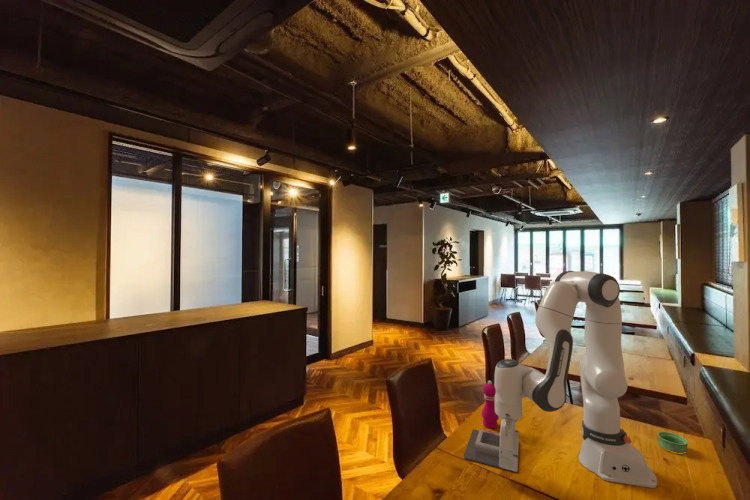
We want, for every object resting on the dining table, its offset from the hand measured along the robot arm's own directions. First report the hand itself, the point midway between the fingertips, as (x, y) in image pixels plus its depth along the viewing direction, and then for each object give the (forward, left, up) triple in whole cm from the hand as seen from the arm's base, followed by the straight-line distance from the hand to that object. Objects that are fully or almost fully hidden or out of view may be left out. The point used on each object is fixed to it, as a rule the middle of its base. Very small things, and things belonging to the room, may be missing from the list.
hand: (508, 448), depth 112 cm
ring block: (+7, -15, -11) cm, 20 cm away
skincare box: (0, 0, -6) cm, 6 cm away
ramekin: (-57, -47, -11) cm, 74 cm away
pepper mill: (+10, -34, -11) cm, 37 cm away
